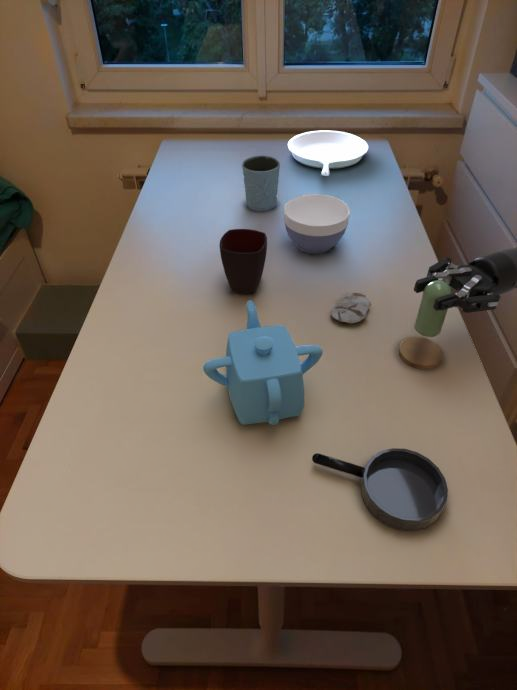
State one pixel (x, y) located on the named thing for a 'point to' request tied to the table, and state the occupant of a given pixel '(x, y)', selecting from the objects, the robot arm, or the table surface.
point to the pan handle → (338, 465)
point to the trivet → (420, 352)
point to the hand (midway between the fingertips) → (425, 296)
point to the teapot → (263, 371)
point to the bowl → (316, 221)
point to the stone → (351, 308)
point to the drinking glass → (261, 182)
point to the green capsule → (431, 309)
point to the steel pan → (404, 489)
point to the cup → (243, 258)
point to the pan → (327, 149)
